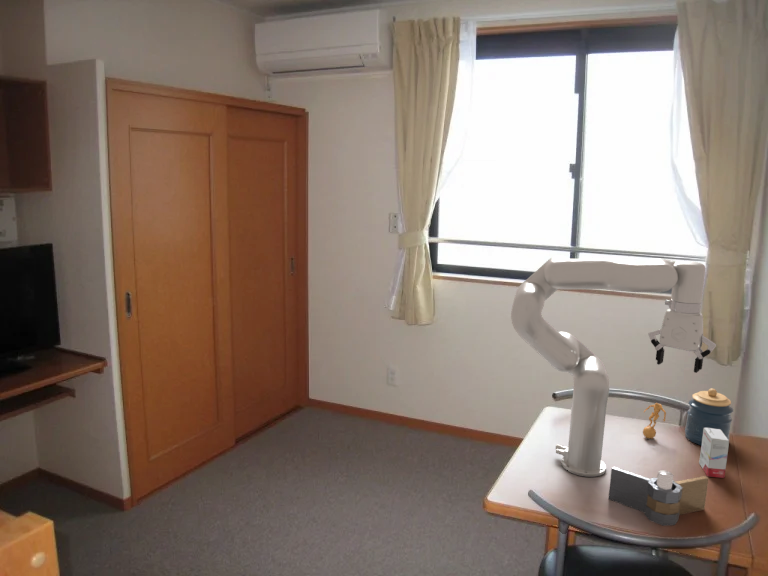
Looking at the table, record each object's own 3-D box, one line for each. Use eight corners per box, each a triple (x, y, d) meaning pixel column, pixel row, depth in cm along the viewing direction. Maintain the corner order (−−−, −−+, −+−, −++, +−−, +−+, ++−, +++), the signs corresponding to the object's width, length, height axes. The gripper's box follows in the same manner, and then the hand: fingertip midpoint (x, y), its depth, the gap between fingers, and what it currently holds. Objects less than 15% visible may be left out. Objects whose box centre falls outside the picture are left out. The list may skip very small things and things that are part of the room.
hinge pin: (650, 517, 162) (655, 474, 159) (655, 511, 165) (660, 469, 162) (665, 522, 160) (670, 479, 157) (669, 516, 162) (675, 473, 160)
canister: (711, 430, 215) (717, 381, 211) (737, 447, 202) (745, 395, 199) (676, 432, 213) (682, 382, 209) (700, 449, 200) (707, 397, 197)
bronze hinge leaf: (660, 527, 157) (664, 494, 155) (639, 511, 164) (642, 480, 162) (713, 515, 163) (718, 484, 161) (691, 501, 170) (695, 470, 168)
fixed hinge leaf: (681, 516, 162) (685, 484, 160) (671, 528, 157) (676, 495, 155) (614, 492, 173) (617, 462, 171) (603, 503, 168) (607, 472, 166)
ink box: (725, 478, 182) (730, 440, 180) (706, 476, 183) (711, 438, 181) (716, 464, 191) (721, 428, 188) (698, 463, 191) (703, 426, 189)
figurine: (634, 434, 211) (638, 400, 208) (647, 430, 213) (651, 397, 211) (654, 444, 203) (659, 409, 201) (667, 440, 206) (672, 406, 204)
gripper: (647, 304, 174) (641, 363, 178) (716, 315, 163) (708, 378, 167) (656, 299, 180) (650, 357, 184) (723, 310, 169) (715, 371, 173)
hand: (677, 367), depth 175 cm, fingers open, 9 cm apart
